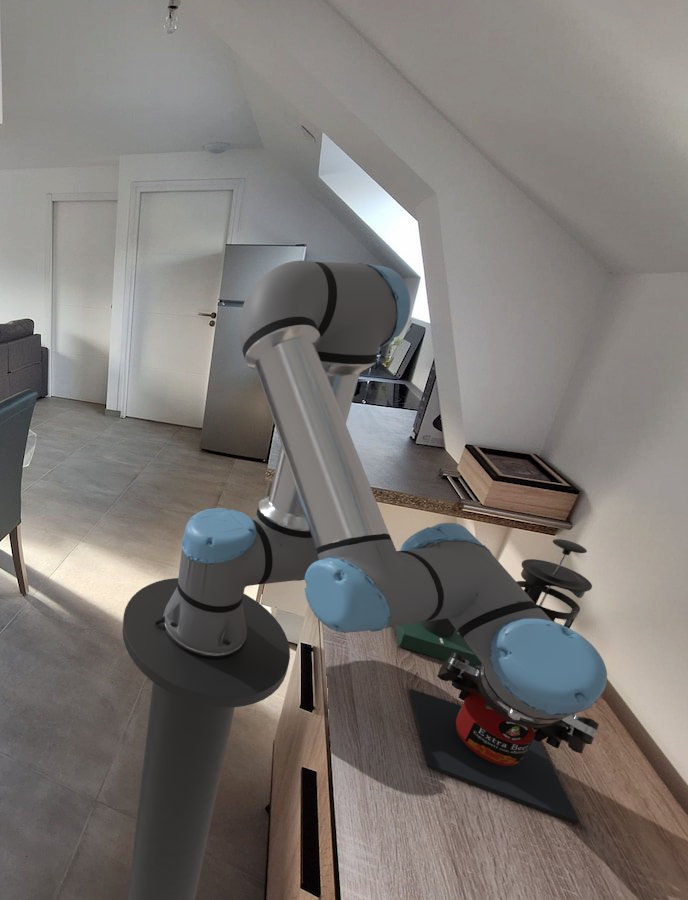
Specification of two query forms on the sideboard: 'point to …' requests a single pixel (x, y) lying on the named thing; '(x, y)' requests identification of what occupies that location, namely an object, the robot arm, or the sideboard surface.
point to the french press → (555, 581)
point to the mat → (453, 757)
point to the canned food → (492, 732)
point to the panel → (434, 643)
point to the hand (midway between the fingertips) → (499, 710)
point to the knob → (440, 627)
